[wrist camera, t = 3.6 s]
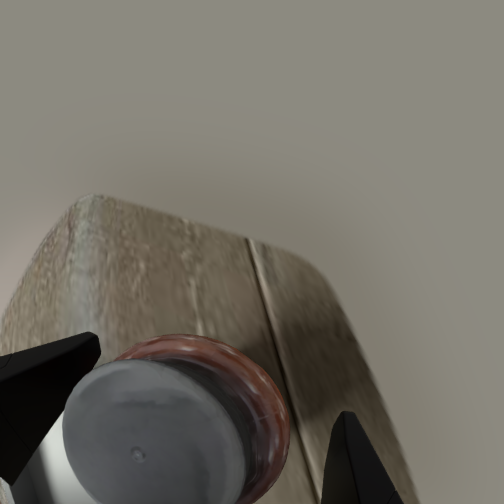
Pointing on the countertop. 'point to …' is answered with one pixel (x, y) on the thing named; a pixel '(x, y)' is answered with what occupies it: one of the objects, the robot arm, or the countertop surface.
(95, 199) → the countertop surface
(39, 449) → the tray
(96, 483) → the supplement bottle
